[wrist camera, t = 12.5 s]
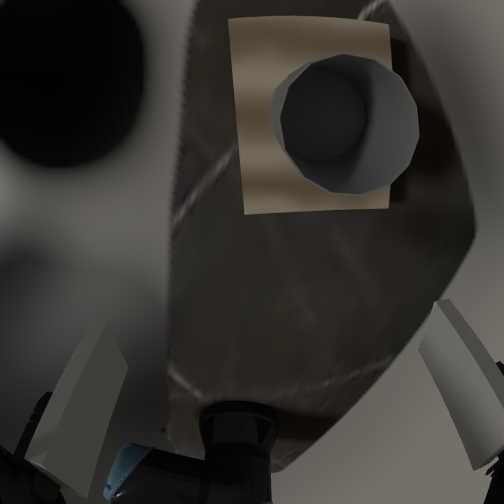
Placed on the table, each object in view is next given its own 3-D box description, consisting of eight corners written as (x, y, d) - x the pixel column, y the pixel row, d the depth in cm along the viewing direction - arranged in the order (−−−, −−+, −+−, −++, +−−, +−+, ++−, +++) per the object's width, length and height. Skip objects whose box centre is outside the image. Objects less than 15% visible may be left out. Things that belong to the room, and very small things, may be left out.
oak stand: (374, 194, 31) (388, 208, 28) (245, 200, 32) (244, 214, 28) (372, 31, 23) (388, 24, 19) (231, 28, 23) (228, 19, 20)
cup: (344, 56, 21) (393, 39, 12) (376, 142, 25) (432, 169, 16) (252, 88, 23) (252, 82, 14) (290, 173, 26) (309, 216, 18)
